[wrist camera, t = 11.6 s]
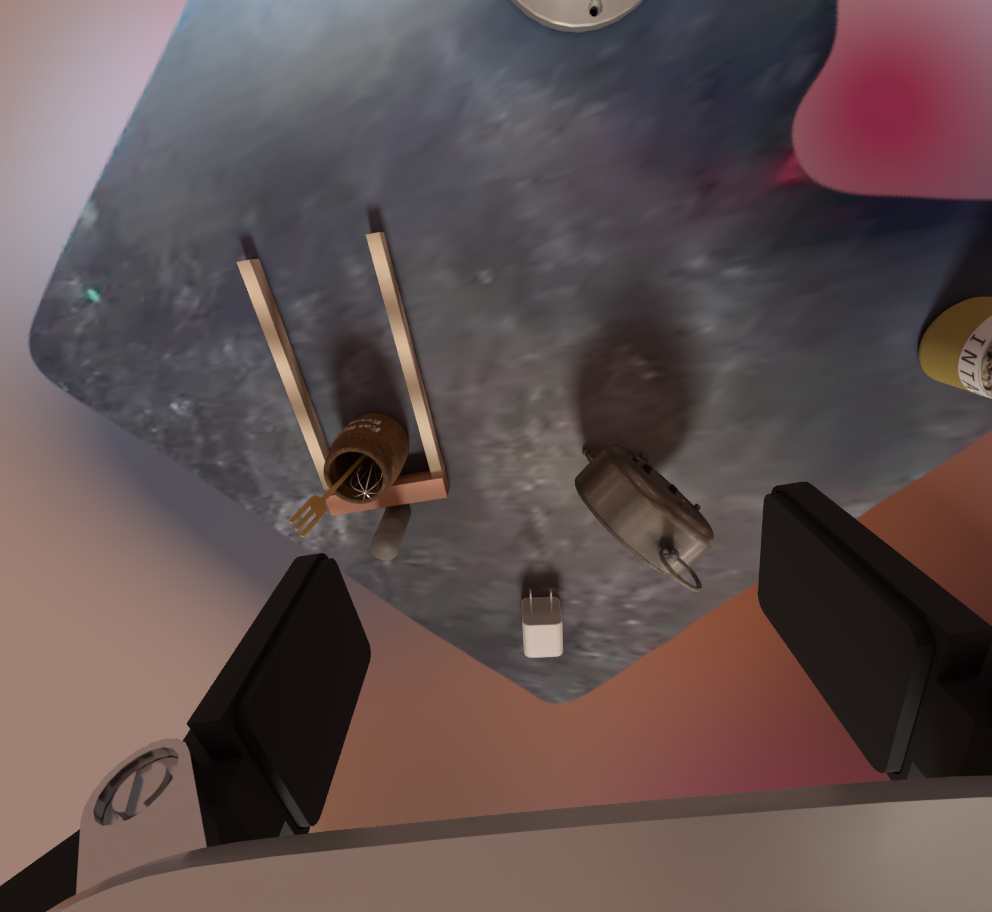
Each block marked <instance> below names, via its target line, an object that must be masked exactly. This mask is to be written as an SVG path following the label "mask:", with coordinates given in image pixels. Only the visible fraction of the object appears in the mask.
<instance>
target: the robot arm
mask: <svg viewBox="0 0 992 912" xmlns="http://www.w3.org/2000/svg"><path fill="white" fill-rule="evenodd" d="M511 1H512V2H513V3H514V4H515V5H516V6H517V7H518V8H519V9H520V10H521V11H522V12H523V13H524V14H526V15H527V16H528V17H530V18H532V19H533V20H535V21H537V22H538V23H540V24H542V25H543V26H546V27H550V28H553V29H556V30H559V31H565V32H585V31H591V30H596V29H600V28H603V27H605V26H607V25H610V24H612V23H614V22H617V21H618V20H620V19H621V18H623V17H624V16H625V15H627V14H628V13H630V12H631V11H633V10H634V9H635V8H636V7H637V6H638V5H639V4H640V3H641V2H642V1H643V0H511ZM592 9H595V10H596V12H597V16H596V17H592V16H591V15H590V10H592ZM758 598H759V603H760V606H761V608H762V610H763V612H764V614H765V615H766V617H767V618H768V619H769V621H770V622H771V624H772V625H773V627H774V628H775V629H776V631H777V632H778V634H779V635H780V637H781V638H782V639H783V641H784V642H785V643H786V645H787V647H788V648H789V649H790V651H791V652H792V654H793V655H794V656H795V658H796V659H797V661H798V662H799V664H800V665H801V666H802V668H803V669H804V671H805V672H806V674H807V675H808V676H809V678H810V679H811V680H812V682H813V683H814V685H815V686H816V688H817V689H818V691H819V692H820V693H821V695H822V696H823V698H824V699H825V701H826V702H827V703H828V705H829V706H830V708H831V709H832V711H833V712H834V713H835V715H836V716H837V718H838V719H839V721H840V722H841V723H842V725H843V726H844V728H845V729H846V730H847V732H848V733H849V735H850V736H851V738H852V739H853V740H854V741H855V743H856V744H857V746H858V747H859V749H860V750H861V752H862V753H863V755H864V756H865V758H866V759H867V760H868V762H869V763H870V764H871V766H872V767H873V768H874V769H875V770H876V771H878V772H880V773H887V775H888V776H889V777H890V779H891V780H892V781H880V782H866V783H850V784H836V785H825V786H813V787H802V788H790V789H778V790H766V791H756V792H744V793H732V794H721V795H708V796H697V797H685V798H673V799H663V800H651V801H640V802H630V803H619V804H608V805H597V806H585V807H574V808H564V809H553V810H542V811H531V812H520V813H510V814H499V815H488V816H477V817H467V818H457V819H447V820H437V821H426V822H416V823H407V824H396V825H386V826H375V827H366V828H355V829H345V830H334V831H325V832H317V833H308V832H309V829H310V826H314V825H315V824H316V823H317V822H318V820H319V818H320V816H321V813H322V810H323V807H324V804H325V801H326V797H327V794H328V791H329V788H330V785H331V782H332V779H333V776H334V773H335V769H336V766H337V763H338V760H339V757H340V754H341V750H342V747H343V744H344V741H345V738H346V734H347V732H348V729H349V725H350V722H351V719H352V716H353V713H354V709H355V707H356V703H357V700H358V697H359V694H360V691H361V687H362V684H363V682H364V678H365V675H366V672H367V669H368V666H369V663H370V658H371V650H370V645H369V642H368V639H367V637H366V634H365V632H364V629H363V627H362V625H361V622H360V620H359V617H358V615H357V612H356V609H355V607H354V605H353V602H352V600H351V597H350V595H349V592H348V590H347V587H346V585H345V582H344V580H343V577H342V575H341V572H340V570H339V567H338V565H337V563H336V561H335V560H334V559H332V558H330V559H329V558H328V556H327V555H326V554H324V553H319V554H313V555H306V556H300V557H297V558H296V559H295V560H294V561H293V563H292V564H291V566H290V567H289V569H288V571H287V572H286V574H285V575H284V577H283V578H282V580H281V581H280V583H279V584H278V586H277V587H276V589H275V590H274V592H273V593H272V595H271V596H270V598H269V599H268V601H267V602H266V604H265V605H264V607H263V608H262V610H261V611H260V613H259V614H258V616H257V618H256V619H255V621H254V622H253V624H252V625H251V627H250V628H249V630H248V631H247V633H246V634H245V636H244V637H243V639H242V640H241V642H240V643H239V645H238V646H237V648H236V649H235V651H234V652H233V654H232V655H231V657H230V659H229V660H228V662H227V663H226V665H225V666H224V668H223V669H222V671H221V672H220V674H219V675H218V677H217V678H216V680H215V681H214V683H213V684H212V686H211V687H210V689H209V690H208V692H207V693H206V695H205V696H204V698H203V699H202V701H201V703H200V704H199V706H198V707H197V709H196V710H195V712H194V713H193V715H192V716H191V718H190V719H189V721H188V722H187V725H188V726H189V728H190V730H189V732H188V734H187V735H186V737H185V738H184V740H183V741H181V740H179V739H164V740H160V741H157V742H154V743H151V744H149V745H147V746H145V747H143V748H141V749H139V750H138V751H136V752H134V753H133V754H132V755H130V756H129V757H128V758H126V759H125V760H123V761H122V762H121V763H119V764H118V765H117V766H116V767H115V768H114V769H113V770H112V771H111V772H110V773H109V774H108V775H106V777H105V778H104V779H103V780H102V781H101V783H100V784H99V785H98V786H97V788H96V789H95V790H94V791H93V793H92V794H91V796H90V798H89V800H88V801H87V803H86V805H85V807H84V810H83V814H82V818H81V824H80V830H78V831H77V832H75V833H74V834H73V835H71V836H70V837H69V838H67V839H66V840H64V841H63V842H61V843H60V844H59V845H57V846H56V847H54V848H53V849H52V850H50V851H49V852H47V853H46V854H45V855H43V856H42V857H41V858H39V859H38V860H36V861H35V862H33V863H32V864H31V865H29V866H28V867H26V868H25V869H24V870H22V871H21V872H19V873H18V874H17V875H15V876H14V877H12V878H11V879H10V880H8V881H7V882H5V883H4V884H3V885H1V886H0V912H992V626H991V625H989V624H988V623H987V622H986V621H984V620H983V619H982V618H981V617H979V616H978V615H977V614H975V613H974V612H973V611H972V610H970V609H969V608H968V607H967V606H965V605H964V604H963V603H961V602H960V601H959V600H958V599H956V598H955V597H954V596H953V595H951V594H950V593H949V592H947V591H946V590H945V589H944V588H942V587H941V586H940V585H938V584H937V583H936V582H935V581H933V580H932V579H931V578H930V577H928V576H927V575H926V574H925V573H923V572H922V571H921V570H920V569H918V568H917V567H916V566H914V565H913V564H912V563H911V562H909V561H908V560H907V559H905V558H904V557H903V556H902V555H900V554H899V553H898V552H897V551H895V550H894V549H893V548H892V547H890V546H889V545H888V544H886V543H885V542H884V541H883V540H881V539H880V538H879V537H878V536H876V535H875V534H874V533H873V532H871V531H870V530H869V529H867V528H866V527H865V526H864V525H862V524H861V523H860V522H858V521H857V520H856V519H855V518H853V517H852V516H851V515H850V514H848V513H847V512H846V511H845V510H843V509H842V508H841V507H839V506H838V505H837V504H836V503H834V502H833V501H832V500H831V499H829V498H828V497H827V496H825V495H824V494H823V493H822V492H820V491H819V490H818V489H817V488H815V487H814V486H813V485H812V484H810V483H808V482H798V483H791V484H785V485H778V486H775V487H774V488H773V490H772V493H771V494H767V495H766V496H765V498H764V505H763V521H762V537H761V553H760V569H759V585H758Z"/></svg>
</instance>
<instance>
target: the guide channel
mask: <svg viewBox="0 0 992 912" xmlns="http://www.w3.org/2000/svg"><path fill="white" fill-rule="evenodd" d="M366 237H367V241H368V244H369V248H370V252H371V255H372V259H373V263H374V266H375V270H376V274H377V277H378V281H379V285H380V288H381V292H382V296H383V299H384V303H385V307H386V310H387V314H388V318H389V321H390V325H391V329H392V332H393V336H394V340H395V343H396V347H397V351H398V354H399V358H400V362H401V365H402V369H403V373H404V376H405V380H406V384H407V387H408V391H409V395H410V398H411V402H412V406H413V409H414V413H415V417H416V420H417V424H418V428H419V431H420V435H421V439H422V442H423V446H424V450H425V453H426V457H427V461H428V464H429V468H430V471H424V472H418V473H412V474H405V475H399V476H398V478H397V479H396V481H395V482H394V483H393V484H392V485H391V486H390V487H389V488H388V489H387V491H386V492H385V493H384V494H383V495H382V496H381V497H380V498H378V499H377V500H375V501H373V502H370V503H366V504H354V503H350V502H347V501H344V500H342V499H340V498H339V497H337V496H336V495H335V494H334V493H332V494H331V496H330V497H329V498H328V499H327V500H326V502H327V505H328V507H329V510H330V513H331V515H338V514H344V513H350V512H357V511H363V510H370V509H376V508H383V507H387V508H386V510H385V512H384V515H383V517H382V519H381V521H380V524H379V526H378V528H377V531H376V533H375V535H374V537H373V540H372V542H371V544H370V550H371V553H372V554H373V555H374V556H375V557H376V558H378V559H381V560H390V559H393V558H394V557H395V556H396V555H397V553H398V550H399V547H400V545H401V542H402V539H403V536H404V533H405V530H406V527H407V524H408V521H409V518H410V515H411V510H410V508H409V506H408V505H407V504H408V503H415V502H421V501H428V500H434V499H440V498H447V496H448V492H449V487H450V486H449V483H448V479H447V475H446V471H445V467H444V463H443V459H442V455H441V452H440V448H439V444H438V440H437V436H436V432H435V428H434V424H433V420H432V417H431V413H430V409H429V405H428V401H427V397H426V393H425V389H424V386H423V382H422V378H421V374H420V370H419V366H418V362H417V358H416V354H415V351H414V347H413V343H412V339H411V335H410V331H409V327H408V323H407V320H406V316H405V312H404V308H403V304H402V300H401V296H400V292H399V289H398V285H397V281H396V277H395V273H394V269H393V265H392V261H391V257H390V254H389V250H388V246H387V242H386V238H385V234H384V232H377V233H373V234H368V235H366ZM237 264H238V267H239V269H240V272H241V275H242V277H243V280H244V282H245V285H246V287H247V290H248V293H249V295H250V298H251V300H252V303H253V306H254V308H255V311H256V313H257V316H258V319H259V321H260V324H261V326H262V329H263V332H264V334H265V337H266V339H267V342H268V344H269V347H270V350H271V352H272V355H273V357H274V360H275V363H276V365H277V368H278V370H279V373H280V376H281V378H282V381H283V383H284V386H285V389H286V391H287V394H288V396H289V399H290V401H291V404H292V407H293V409H294V412H295V414H296V417H297V420H298V422H299V425H300V427H301V430H302V433H303V435H304V438H305V440H306V443H307V446H308V448H309V451H310V453H311V456H312V458H313V461H314V464H315V466H316V469H317V471H318V474H319V477H320V479H321V482H322V484H323V487H324V490H325V492H326V493H327V492H328V491H329V490H330V489H329V487H328V486H327V484H326V482H325V479H324V473H323V470H324V464H325V461H326V458H327V456H328V454H329V452H330V451H329V448H328V446H327V443H326V440H325V437H324V435H323V432H322V429H321V427H320V424H319V421H318V418H317V416H316V413H315V410H314V407H313V405H312V402H311V399H310V397H309V394H308V391H307V388H306V386H305V383H304V380H303V377H302V375H301V372H300V369H299V366H298V364H297V361H296V358H295V356H294V353H293V350H292V347H291V345H290V342H289V339H288V336H287V334H286V331H285V328H284V326H283V323H282V320H281V317H280V315H279V312H278V309H277V306H276V304H275V301H274V298H273V296H272V293H271V290H270V287H269V285H268V282H267V279H266V276H265V274H264V271H263V268H262V266H261V263H260V260H259V259H250V260H245V261H240V262H237Z"/></svg>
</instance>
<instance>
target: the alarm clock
mask: <svg viewBox="0 0 992 912" xmlns="http://www.w3.org/2000/svg"><path fill="white" fill-rule="evenodd" d="M582 453H583V455H585V456H586V457H587V459H588V461H589V462H590V463H589V464H588V465H587V466H586V467H585V468H584V469H583V470H582V471H581V473H580V474H579V475H578V476H577V477H576V478H575V486H576V489H577V492H578V494H579V495H580V497H581V499H582V500H583V502H584V503H585V505H586V506H587V507H588V508H589V510H590V511H591V512H592V514H593V515H594V516H595V518H596V519H597V520H598V521H599V522H600V523H601V524H602V525H603V526H604V527H605V528H606V529H607V530H608V531H609V532H610V533H611V534H612V535H613V536H614V537H615V538H616V539H617V540H618V541H619V542H620V543H621V544H622V545H623V546H624V547H625V548H626V549H627V550H628V551H629V552H631V553H632V554H633V555H634V556H635V557H637V558H638V559H639V560H641V561H642V562H643V563H645V564H646V565H648V566H649V567H650V568H652V569H654V570H655V571H657V572H659V573H661V574H663V575H665V576H667V577H670V578H675V579H676V580H677V581H678V582H679V583H681V584H682V585H684V586H685V587H686V588H688V589H690V590H692V591H695V592H699V591H701V589H702V584H701V582H700V580H699V579H698V577H697V575H696V574H695V573H694V571H693V570H692V569H691V568H690V567H689V566H690V565H692V564H693V563H694V562H695V561H696V560H697V559H698V558H699V557H701V556H702V555H703V554H704V553H705V552H706V551H707V550H708V549H709V548H710V547H711V546H712V544H713V541H714V535H713V531H712V529H711V527H710V525H709V523H708V522H707V520H706V519H705V518H704V517H703V515H702V514H701V513H700V512H699V511H698V510H699V509H700V506H699V505H698V504H695V505H694V506H693V504H692V503H691V502H690V501H689V500H687V499H686V498H685V497H684V496H683V495H682V494H681V493H680V492H679V491H678V489H677V488H676V487H675V486H674V485H673V484H670V483H669V482H668V481H667V480H666V479H665V478H664V477H663V476H661V475H660V474H659V473H658V472H657V471H656V470H654V469H653V467H652V466H651V465H649V463H648V456H647V454H646V453H645V452H643V453H642V458H640V457H639V456H637V455H635V454H634V453H632V452H631V451H629V450H628V449H626V448H623V447H621V446H617V445H611V446H607V447H604V448H603V449H602V450H601V451H600V452H599V453H598V454H597V455H596V457H595V456H593V455H592V454H590V451H589V450H588V449H584V450H583V452H582ZM685 570H687V571H688V572H689V573H690V574H691V576H692V577H693V578H694V580H695V582H696V584H697V587H696V586H693V585H691V584H689V583H687V582H686V581H684V580H683V579H682V578H681V577H680V575H681V574H682V573H683V572H684V571H685Z"/></svg>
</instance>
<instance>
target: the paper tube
mask: <svg viewBox="0 0 992 912" xmlns="http://www.w3.org/2000/svg"><path fill="white" fill-rule="evenodd" d="M919 361H920V364H921V367H922V369H923V371H924V372H925V373H926V374H927V375H928V376H929V377H931V378H932V379H934V380H936V381H939V382H942V383H945V384H949V385H952V386H955V387H958V388H961V389H964V390H967V391H970V392H973V393H976V394H979V395H982V396H985V397H988V398H991V399H992V297H975V298H971V299H967V300H964V301H962V302H959V303H957V304H955V305H954V306H952V307H950V308H948V309H947V310H945V311H944V312H943V313H941V314H940V315H939V316H938V317H937V318H936V319H935V320H934V321H933V322H932V323H931V324H930V326H929V327H928V328H927V330H926V331H925V333H924V335H923V337H922V339H921V342H920V346H919Z"/></svg>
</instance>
